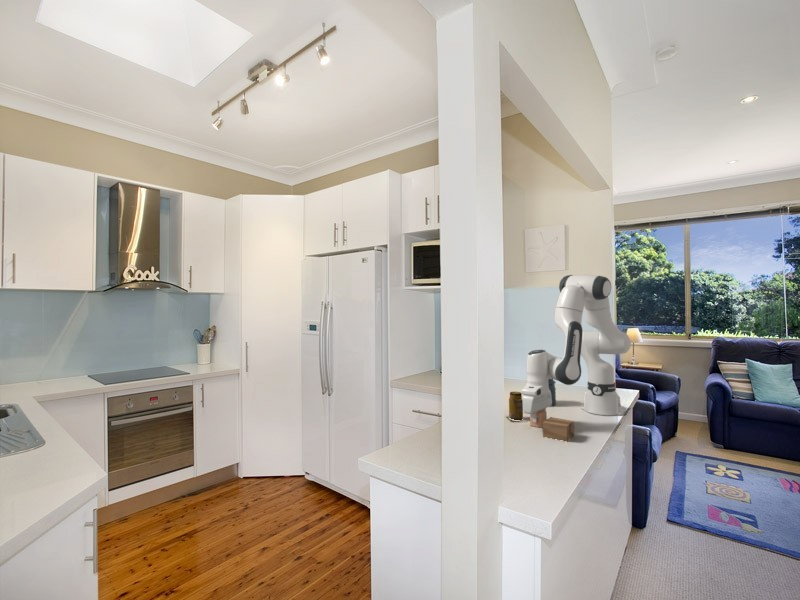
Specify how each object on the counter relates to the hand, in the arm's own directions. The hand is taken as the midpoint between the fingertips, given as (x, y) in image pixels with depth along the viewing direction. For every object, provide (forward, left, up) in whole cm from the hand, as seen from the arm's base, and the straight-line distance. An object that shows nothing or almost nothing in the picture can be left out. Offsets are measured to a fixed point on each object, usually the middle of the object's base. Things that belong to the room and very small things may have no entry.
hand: (538, 420), depth 168 cm
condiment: (-3, -12, -3) cm, 12 cm away
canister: (-39, -16, -3) cm, 42 cm away
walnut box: (+8, +12, -3) cm, 15 cm away
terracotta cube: (0, 0, -2) cm, 2 cm away
